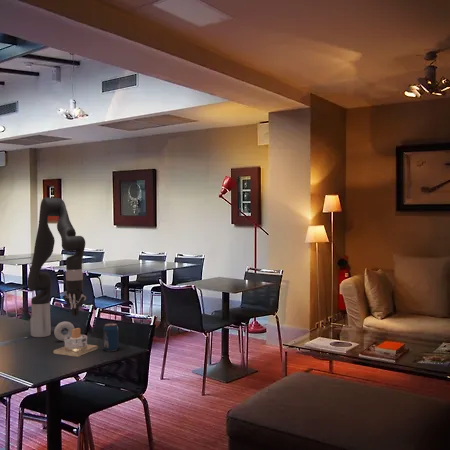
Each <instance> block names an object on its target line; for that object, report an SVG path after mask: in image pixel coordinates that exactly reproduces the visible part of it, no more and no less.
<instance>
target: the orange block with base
mask: <svg viewBox="0 0 450 450" xmlns="http://www.w3.org/2000/svg"><path fill="white" fill-rule="evenodd" d="M74 328H75V327H74ZM81 335H82V334H81V328H80V327H76V328H75V329H72V337H70V339H81V338H83V336H81Z"/></svg>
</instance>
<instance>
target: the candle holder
mask: <svg viewBox="0 0 450 450" xmlns="http://www.w3.org/2000/svg"><path fill="white" fill-rule="evenodd" d="M81 336H83V338H81V339H70V337H72V335H71V336H67V337H65V338H64V341H63V342H64V346H61V347H59V348H55V349H53V354H54V355H62V356H70V357H78V358H79V357H81V356H83V355H86V354H88V353H90V352H93V351H96V350H98V349H99V346H98V345H96V344H95V345H94V344H88V335H86V334H81Z"/></svg>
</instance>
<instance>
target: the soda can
mask: <svg viewBox="0 0 450 450" xmlns="http://www.w3.org/2000/svg"><path fill="white" fill-rule="evenodd" d="M103 325H104V326H103V328H102V332H103V333H102V336H103V337H102V338H103V339H102V340H103V345H102V346H103V349H104V351H106V352H114V351H115V352H116V351H117V350H118V348H119V347H120V346H119V343H120V342H119V341H120V340H119V327H118V324H117V323H115V322H109V323H105V324H103Z"/></svg>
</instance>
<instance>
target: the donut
mask: <svg viewBox="0 0 450 450" xmlns="http://www.w3.org/2000/svg"><path fill="white" fill-rule="evenodd" d="M63 329H66V330H67V333H65V334H63V333H62V331H63ZM72 329H75V326H74V324H73V323H72V322H70V321H61V322H59V323H57V325H56V326H55V327H54V331H53V334H54V337H55V338H56V339H57V340H58V341H61V342H64V338H65V337H67V336H71V335H72Z"/></svg>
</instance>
